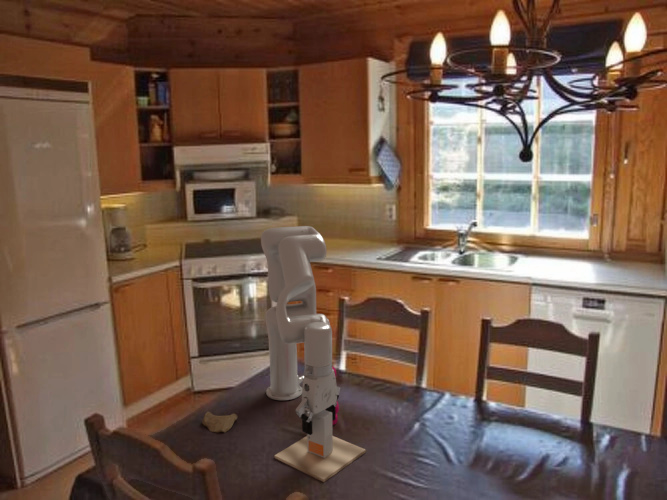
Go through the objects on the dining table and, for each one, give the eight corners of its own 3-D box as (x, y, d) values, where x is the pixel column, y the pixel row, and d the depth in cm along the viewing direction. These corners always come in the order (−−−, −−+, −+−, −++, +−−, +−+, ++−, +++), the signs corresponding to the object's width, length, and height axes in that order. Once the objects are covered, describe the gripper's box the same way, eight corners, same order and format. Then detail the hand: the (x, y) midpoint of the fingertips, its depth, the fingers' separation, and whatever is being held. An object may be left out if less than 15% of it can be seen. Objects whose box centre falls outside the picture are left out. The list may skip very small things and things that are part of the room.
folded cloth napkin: (317, 432, 165) (317, 429, 165) (365, 452, 154) (365, 449, 154) (274, 458, 152) (274, 455, 152) (323, 482, 140) (323, 479, 140)
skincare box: (307, 452, 153) (305, 412, 151) (315, 445, 156) (314, 406, 154) (324, 458, 149) (324, 418, 147) (333, 451, 153) (332, 411, 151)
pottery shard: (238, 421, 176) (209, 412, 177) (241, 410, 175) (211, 401, 176) (226, 440, 166) (195, 431, 167) (228, 428, 164) (197, 419, 166)
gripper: (307, 382, 139) (308, 443, 143) (349, 361, 152) (349, 417, 156) (286, 374, 144) (287, 434, 148) (328, 354, 157) (329, 409, 161)
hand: (319, 425), depth 152 cm, fingers open, 9 cm apart
